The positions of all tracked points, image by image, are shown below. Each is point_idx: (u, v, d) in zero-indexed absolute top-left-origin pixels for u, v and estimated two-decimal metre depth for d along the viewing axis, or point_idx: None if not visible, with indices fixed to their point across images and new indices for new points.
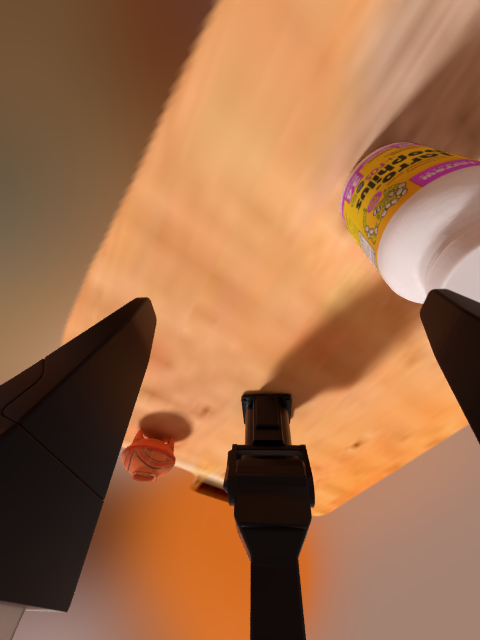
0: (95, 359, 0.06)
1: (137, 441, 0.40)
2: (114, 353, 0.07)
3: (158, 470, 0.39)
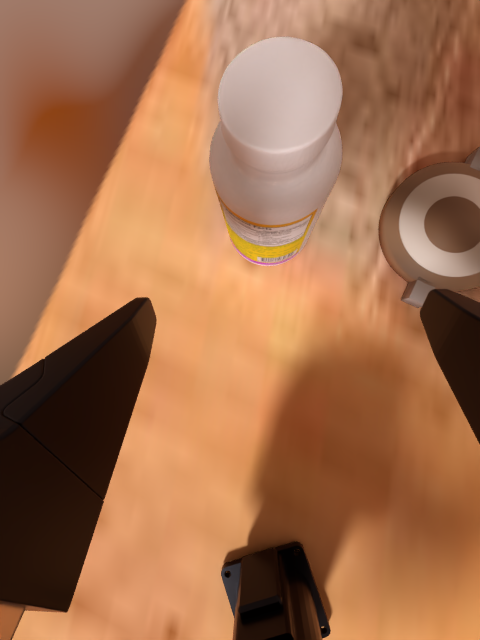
0: (95, 359, 0.06)
1: None
2: (114, 353, 0.07)
3: None
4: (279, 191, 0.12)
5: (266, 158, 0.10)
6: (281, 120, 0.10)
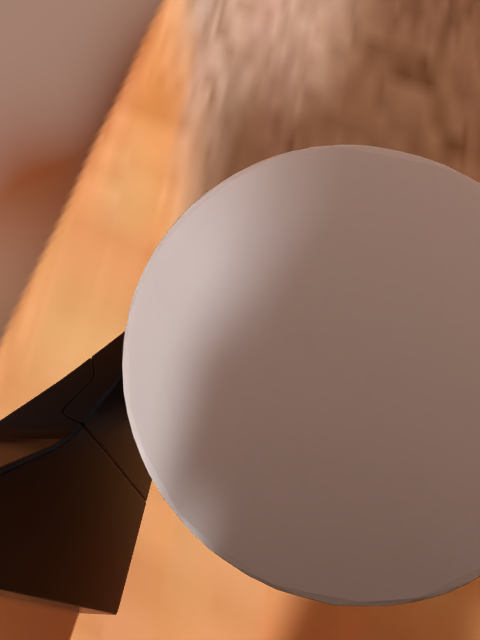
0: None
1: None
2: None
3: None
4: None
5: None
6: (353, 473, 0.03)
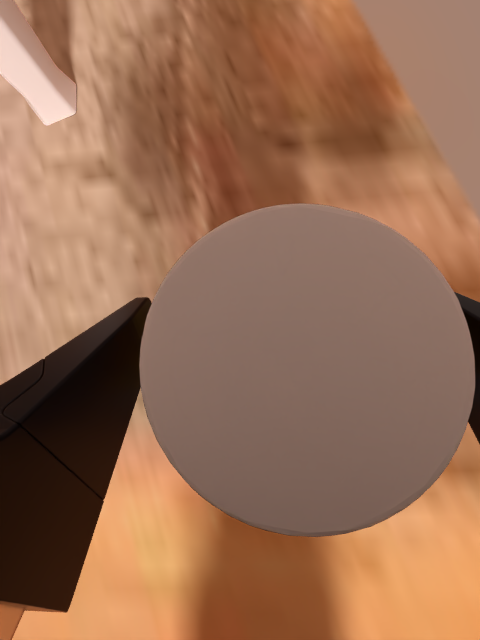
0: (95, 359, 0.06)
1: None
2: (114, 353, 0.07)
3: None
4: None
5: None
6: (304, 442, 0.04)
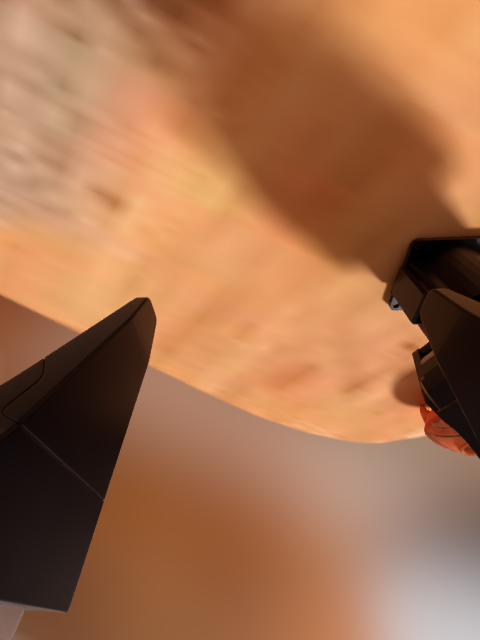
0: (95, 359, 0.06)
1: (425, 421, 0.33)
2: (114, 353, 0.07)
3: None
4: None
5: None
6: None
